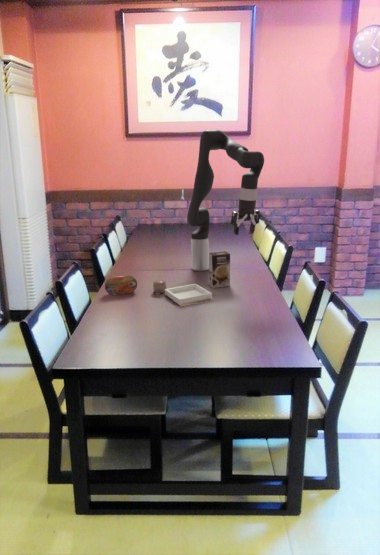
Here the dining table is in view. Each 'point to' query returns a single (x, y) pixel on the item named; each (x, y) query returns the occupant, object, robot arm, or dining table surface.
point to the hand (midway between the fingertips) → (243, 233)
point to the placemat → (195, 302)
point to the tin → (120, 285)
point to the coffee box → (219, 269)
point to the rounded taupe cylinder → (159, 286)
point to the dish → (188, 294)
